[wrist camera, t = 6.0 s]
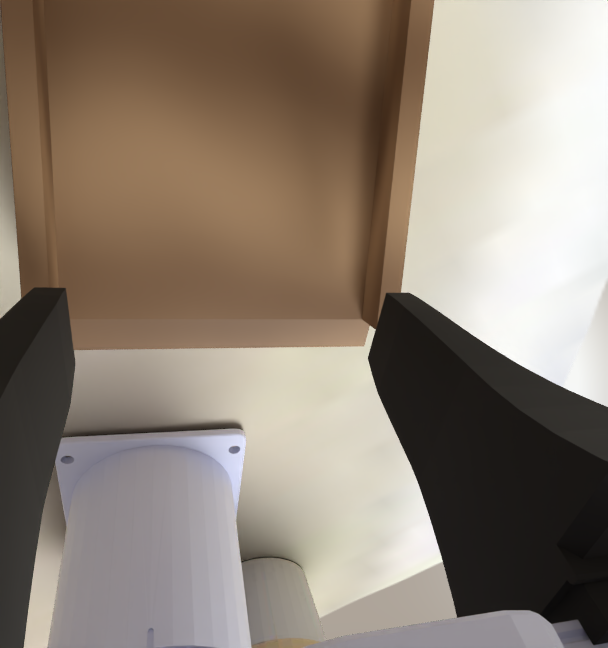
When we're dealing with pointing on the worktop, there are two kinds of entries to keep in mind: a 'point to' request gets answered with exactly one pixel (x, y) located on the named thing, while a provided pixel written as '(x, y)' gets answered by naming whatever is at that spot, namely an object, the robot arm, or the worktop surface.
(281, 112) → the ramp
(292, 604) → the coffee cup
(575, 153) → the worktop surface
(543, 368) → the worktop surface
